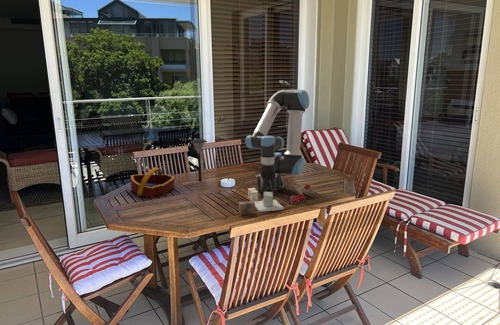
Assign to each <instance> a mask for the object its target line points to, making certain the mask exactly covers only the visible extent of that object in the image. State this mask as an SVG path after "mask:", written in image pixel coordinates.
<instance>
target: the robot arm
mask: <svg viewBox="0 0 500 325" xmlns="http://www.w3.org/2000/svg"><path fill="white" fill-rule="evenodd" d="M309 106H310V96H309V93H308V92H307V91H306V90H304V89H280V90H279V91H277V92H275V93H274V94H272V96H271V97H270V98H269V99H268V101H267V103H266V108H265V110H264V112H263V114H262V116H261V118H260V120H259V122H258V124H257V126H256V127H255V129H254V131H253V133H252V134H251V135H250V134H249V135H247V136H246V137H245V140H244V141H245V142H244V143H245V145H246V147H247V148H248V149H253V150H254V149H256V150H260V151H261V152H260V153H261V154H260V163H261V164H260V173H259V174H256V175H255V177H256V185H257V187H256V188H257V189H256V190H257V191H258V194H260V199H261V201H262V203H263V205H265V193H264V192H265V190H266V191H269V192H270V193H271V194H272V195H273V199H274V198H275V197H276V196H275V195H276V192H278V191H280V190H283V189H284V187H285V186H284V185H285V184H284V180H283V178H282V175H291V176H299V175H301V174H302V172H303V171H304V168H305V164H306V160H305V158H304V157H303V154H302V153H301V143H302V142H301V140H302V128H303V116H304V114H305V113H306V109H308V108H309ZM282 109H286V112H287V113H288V124H287V125H288V126H287V137H286V139H287V140H286V151H285V152H283V155H282V152H276V151H279V150H281V149H282V148H284V146H285V140H284V139H283V137H281V136H273V135H268V132H269V131H270V129H271V127H272V125H273V124H274V121H275V118H276V116H277V114H278V113H279V112H280V111H281V110H282ZM261 178H262V181H261Z"/></svg>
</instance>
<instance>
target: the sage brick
mask: <svg viewBox="0 0 500 325" xmlns="http://www.w3.org/2000/svg"><path fill="white" fill-rule="evenodd" d="M270 192H271V191H264V193H265V206H266V207H270V206H273V200H274V198H273V195H272V194H271V193H270Z"/></svg>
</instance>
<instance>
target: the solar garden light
mask: <svg viewBox="0 0 500 325" xmlns="http://www.w3.org/2000/svg"><path fill="white" fill-rule="evenodd" d="M207 142H208V141H207V140H206V139H204V138H194V139H193V140H191V141H190V142H189V143H191V144H193V147H194V149H195V150H196V152H197V166H198V181H199V182H202V162H201V161H202V160H201V153H202V150H203V148H204V145H205V143H207Z"/></svg>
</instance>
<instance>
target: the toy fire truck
mask: <svg viewBox="0 0 500 325" xmlns="http://www.w3.org/2000/svg"><path fill="white" fill-rule="evenodd" d="M303 189H305V190H310V189H311V185H309V184H306V183H304V184H302V186H300V187H299V188H297V189H296V192H297V193H298V194H297V195H291V196H290V200H289V202H290V203H291V204H293V205H294V204H295V205H297V204H298V203H304V202H305V201H306V200H307V199H306V196H305V195H304V194H303V191H302V190H303Z"/></svg>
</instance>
